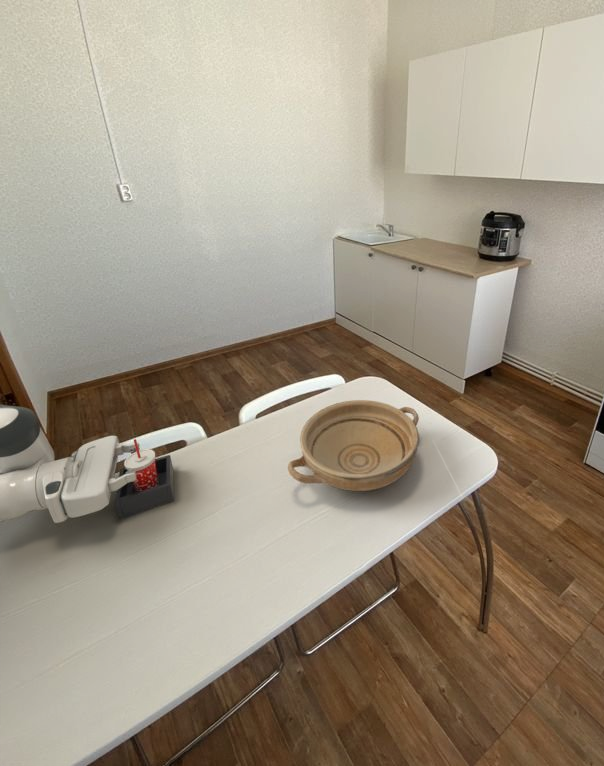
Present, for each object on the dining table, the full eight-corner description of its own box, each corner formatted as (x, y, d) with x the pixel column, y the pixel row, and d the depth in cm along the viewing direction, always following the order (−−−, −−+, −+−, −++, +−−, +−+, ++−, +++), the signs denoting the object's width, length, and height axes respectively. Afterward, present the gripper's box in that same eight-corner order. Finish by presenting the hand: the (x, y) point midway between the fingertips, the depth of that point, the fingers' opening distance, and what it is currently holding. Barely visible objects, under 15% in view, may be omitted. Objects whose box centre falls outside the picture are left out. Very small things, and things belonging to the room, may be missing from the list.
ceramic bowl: (326, 550, 75) (324, 511, 71) (266, 465, 96) (262, 433, 93) (453, 466, 95) (456, 432, 92) (380, 412, 117) (380, 383, 113)
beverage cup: (127, 494, 87) (112, 444, 82) (151, 476, 92) (138, 428, 87) (145, 503, 85) (130, 452, 80) (168, 484, 90) (156, 435, 85)
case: (120, 519, 82) (114, 501, 80) (125, 485, 91) (120, 468, 89) (174, 501, 86) (170, 484, 84) (173, 470, 95) (170, 454, 93)
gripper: (77, 461, 89) (143, 443, 95) (53, 530, 72) (137, 504, 77) (69, 438, 87) (138, 422, 92) (43, 505, 70) (130, 480, 75)
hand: (137, 460), depth 85 cm, fingers open, 8 cm apart
